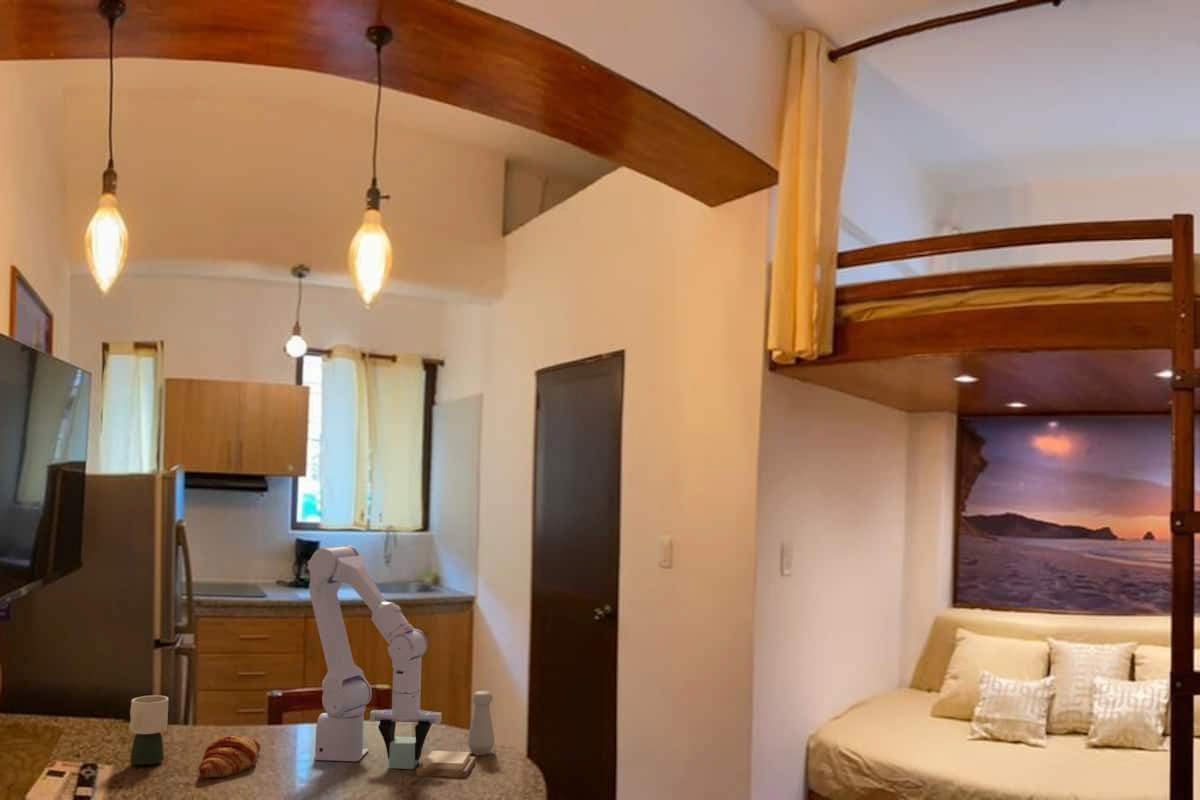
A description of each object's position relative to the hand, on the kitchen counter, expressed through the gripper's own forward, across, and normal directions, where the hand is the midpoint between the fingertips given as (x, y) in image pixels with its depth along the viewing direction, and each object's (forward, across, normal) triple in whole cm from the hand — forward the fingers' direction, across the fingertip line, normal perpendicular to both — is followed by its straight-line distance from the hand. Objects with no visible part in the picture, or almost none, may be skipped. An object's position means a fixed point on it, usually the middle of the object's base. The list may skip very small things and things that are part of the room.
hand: (404, 757), depth 206 cm
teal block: (+1, 0, 0) cm, 1 cm away
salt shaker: (+2, +14, +11) cm, 18 cm away
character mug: (+2, -52, -5) cm, 52 cm away
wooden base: (+2, +9, -1) cm, 9 cm away
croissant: (+2, -34, -5) cm, 34 cm away
